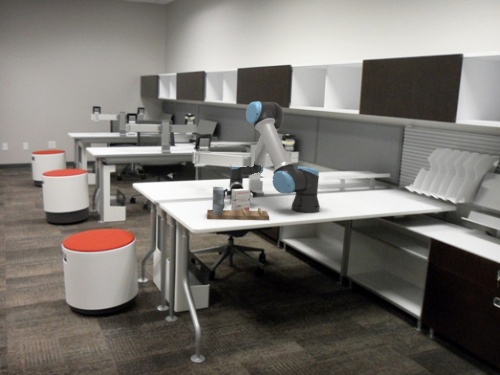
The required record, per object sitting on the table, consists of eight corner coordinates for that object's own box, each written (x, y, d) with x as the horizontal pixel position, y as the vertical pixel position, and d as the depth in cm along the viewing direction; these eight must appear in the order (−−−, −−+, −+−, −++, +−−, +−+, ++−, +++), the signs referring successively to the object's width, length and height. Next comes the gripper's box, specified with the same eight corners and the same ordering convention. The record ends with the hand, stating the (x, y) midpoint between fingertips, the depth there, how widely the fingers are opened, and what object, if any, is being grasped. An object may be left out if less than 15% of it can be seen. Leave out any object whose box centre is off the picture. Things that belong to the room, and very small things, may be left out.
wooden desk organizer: (266, 214, 242) (267, 187, 240) (269, 220, 232) (270, 191, 229) (207, 213, 240) (208, 186, 237) (207, 218, 229) (207, 190, 226)
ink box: (245, 210, 251) (246, 188, 249) (249, 212, 247) (250, 189, 244) (230, 211, 247) (231, 188, 245) (234, 213, 243) (235, 190, 240)
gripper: (258, 196, 273) (262, 204, 253) (214, 195, 271) (215, 203, 251) (258, 183, 272) (262, 190, 251) (215, 182, 270) (215, 189, 249)
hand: (239, 197), depth 251 cm, fingers open, 13 cm apart
